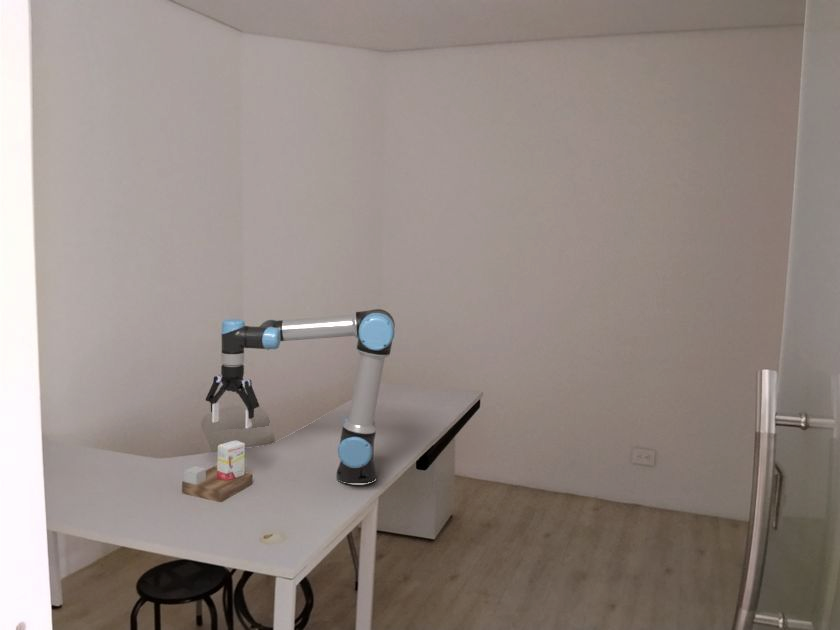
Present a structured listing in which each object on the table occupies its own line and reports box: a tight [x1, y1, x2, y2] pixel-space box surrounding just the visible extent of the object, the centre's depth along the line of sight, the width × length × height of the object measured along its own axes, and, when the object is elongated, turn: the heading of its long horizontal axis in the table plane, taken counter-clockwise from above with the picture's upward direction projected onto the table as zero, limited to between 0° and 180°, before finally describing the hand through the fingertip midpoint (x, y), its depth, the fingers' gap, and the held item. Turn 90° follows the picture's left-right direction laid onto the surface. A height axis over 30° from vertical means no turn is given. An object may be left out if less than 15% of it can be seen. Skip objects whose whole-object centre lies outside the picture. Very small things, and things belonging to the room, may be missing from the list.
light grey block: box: [183, 465, 207, 485], centre depth 247 cm, size 5×5×4 cm
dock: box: [181, 464, 254, 503], centre depth 251 cm, size 16×18×4 cm
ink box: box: [216, 440, 246, 481], centre depth 252 cm, size 9×5×12 cm, turn 145°
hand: (231, 424), depth 251 cm, fingers open, 13 cm apart
